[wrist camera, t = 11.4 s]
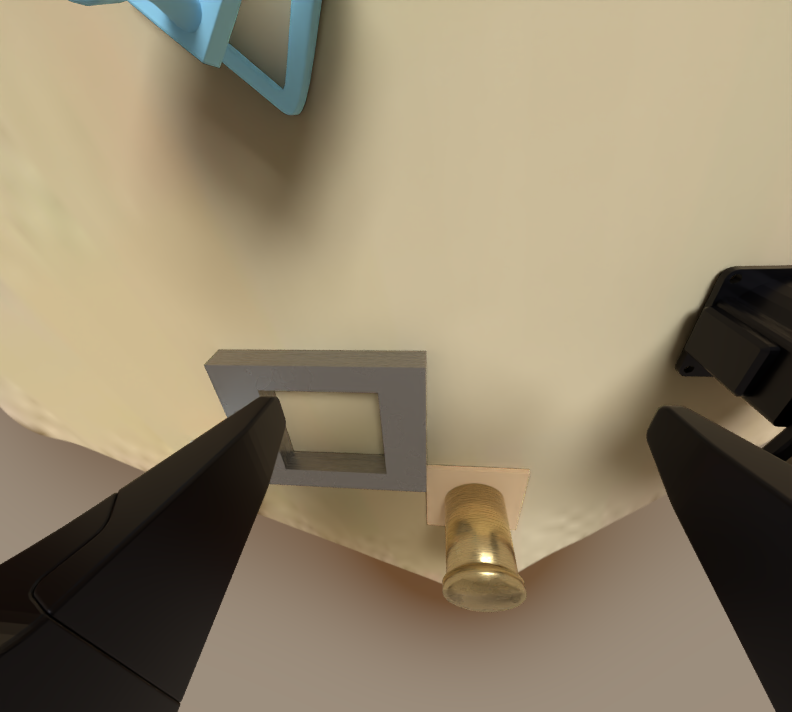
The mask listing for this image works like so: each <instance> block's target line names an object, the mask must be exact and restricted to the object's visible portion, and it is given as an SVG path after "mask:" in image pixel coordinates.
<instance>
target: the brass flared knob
mask: <svg viewBox="0 0 792 712" xmlns="http://www.w3.org/2000/svg"><path fill="white" fill-rule="evenodd" d="M445 533H446V575H445V576H444V578H443V581H442V586H443V595H444V597H445V598H446V599H447V600H448V601H449V602H451V603H452V604H454V605H456V606H458V607H461V608H464V609H468V610H473V611H481V612H497V611H504V610H508V609H512V608H515V607H517V606H519V605H520V604H522V603H523V602H524V601H525V599H526V596H527V593H526V588H525V583H524V580H523V579H522V578H521V577H520V576H519V575H518V570H517V565H516V559H515V554H514V548H513V543H512V538H511V532H510V527H509V521H508V516H507V511H506V505H505V500H504V496H503V495H502V493H501V492H500V491H499V490H497V489H496V488H494V487H492V486H489V485H485V484H479V483H469V484H463V485H459V486H457V487H455V488H453V489H451V490H450V491H449V492H448V493H447V494H446V496H445Z"/></svg>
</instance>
